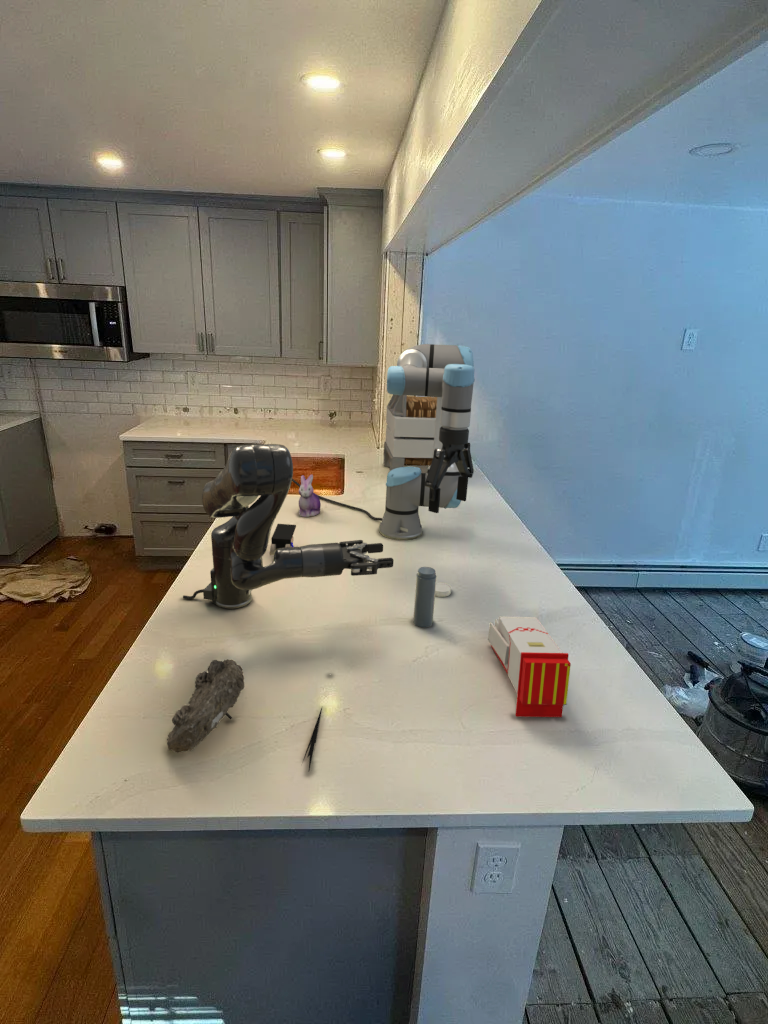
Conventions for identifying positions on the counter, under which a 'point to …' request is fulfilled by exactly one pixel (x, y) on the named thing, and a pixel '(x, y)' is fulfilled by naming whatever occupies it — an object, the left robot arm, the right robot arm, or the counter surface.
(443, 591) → the lid
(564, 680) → the toy
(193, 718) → the fossil
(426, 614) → the jar
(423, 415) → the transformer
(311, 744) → the feather
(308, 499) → the figurine
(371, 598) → the counter surface
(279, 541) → the figurine character
